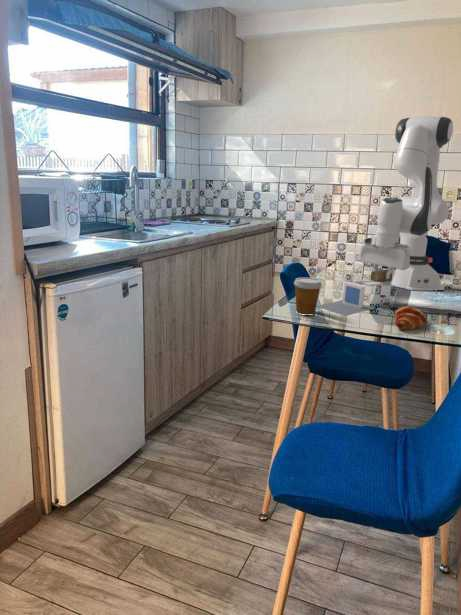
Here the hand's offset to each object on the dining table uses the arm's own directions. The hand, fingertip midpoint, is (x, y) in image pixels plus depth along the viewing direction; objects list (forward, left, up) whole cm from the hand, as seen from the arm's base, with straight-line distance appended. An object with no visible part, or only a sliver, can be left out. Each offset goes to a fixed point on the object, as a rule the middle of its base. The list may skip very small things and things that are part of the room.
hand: (381, 277), depth 196 cm
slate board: (+15, +15, -10) cm, 23 cm away
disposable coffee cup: (+30, +24, -10) cm, 39 cm away
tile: (+12, +12, -9) cm, 19 cm away
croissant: (-5, +29, -10) cm, 31 cm away
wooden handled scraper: (+3, +3, -2) cm, 4 cm away
